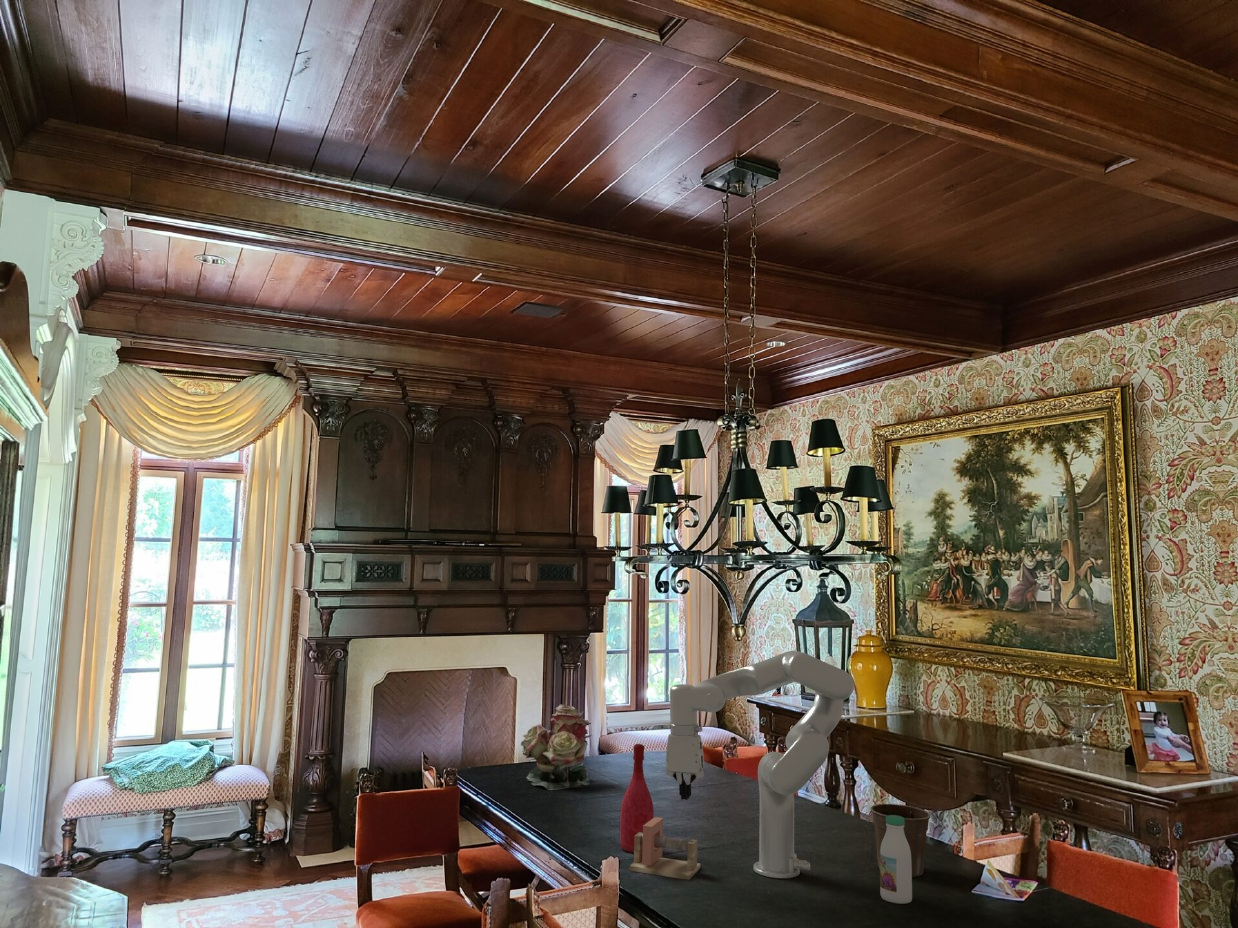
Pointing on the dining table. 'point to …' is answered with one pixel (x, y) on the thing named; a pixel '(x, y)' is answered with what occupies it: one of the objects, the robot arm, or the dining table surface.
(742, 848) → the dining table surface
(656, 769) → the dining table surface
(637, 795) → the wine bottle
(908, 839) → the plant pot
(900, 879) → the milk bottle
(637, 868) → the rail stand
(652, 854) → the collar
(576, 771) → the rose bouquet
